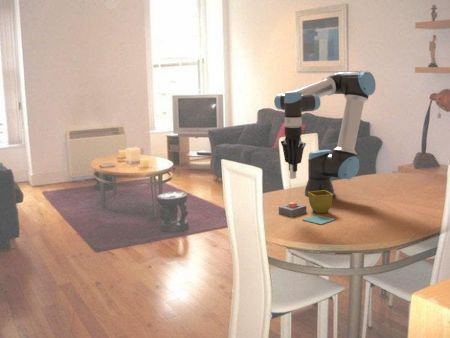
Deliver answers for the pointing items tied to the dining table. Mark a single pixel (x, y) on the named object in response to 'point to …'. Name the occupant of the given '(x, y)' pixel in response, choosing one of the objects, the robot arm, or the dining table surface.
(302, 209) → the housing
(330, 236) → the dining table surface
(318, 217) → the pad
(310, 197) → the flower pot
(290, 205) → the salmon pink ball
